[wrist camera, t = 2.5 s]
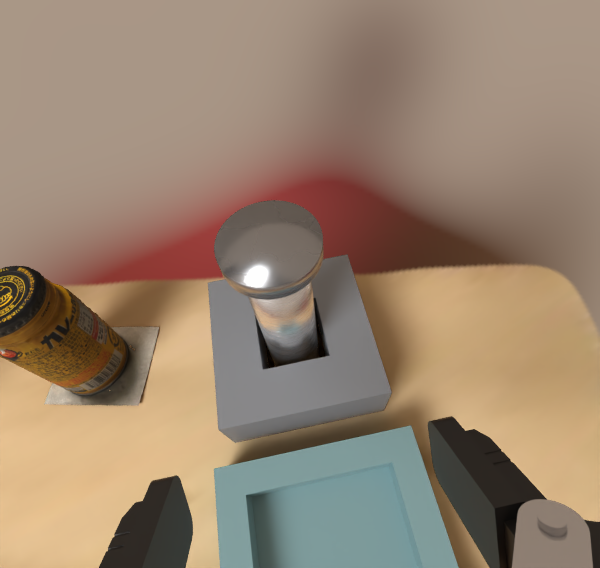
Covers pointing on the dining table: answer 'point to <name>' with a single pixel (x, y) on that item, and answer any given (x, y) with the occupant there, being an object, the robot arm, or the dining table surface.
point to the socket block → (298, 376)
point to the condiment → (70, 343)
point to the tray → (333, 508)
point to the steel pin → (275, 273)
